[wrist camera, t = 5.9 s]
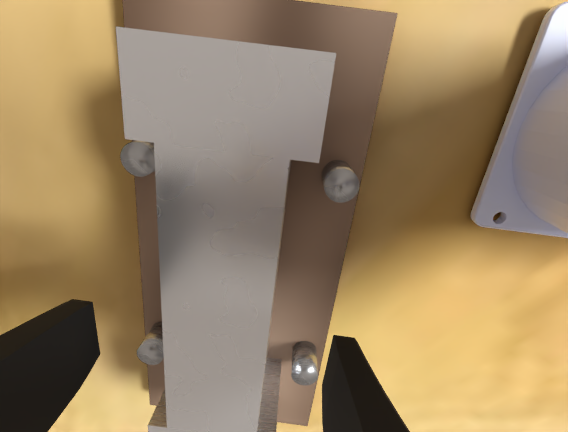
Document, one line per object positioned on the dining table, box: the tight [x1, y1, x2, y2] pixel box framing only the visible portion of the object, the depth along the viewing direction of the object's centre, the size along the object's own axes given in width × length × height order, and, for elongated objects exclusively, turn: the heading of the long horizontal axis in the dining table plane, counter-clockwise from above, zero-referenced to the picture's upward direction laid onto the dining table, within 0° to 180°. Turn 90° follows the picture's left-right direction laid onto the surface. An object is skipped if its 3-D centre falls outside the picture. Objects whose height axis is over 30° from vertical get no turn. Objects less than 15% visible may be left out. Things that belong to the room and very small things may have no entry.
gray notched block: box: [116, 27, 336, 432], centre depth 12 cm, size 5×16×4 cm, turn 174°
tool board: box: [120, 0, 397, 426], centre depth 13 cm, size 9×20×2 cm, turn 173°
